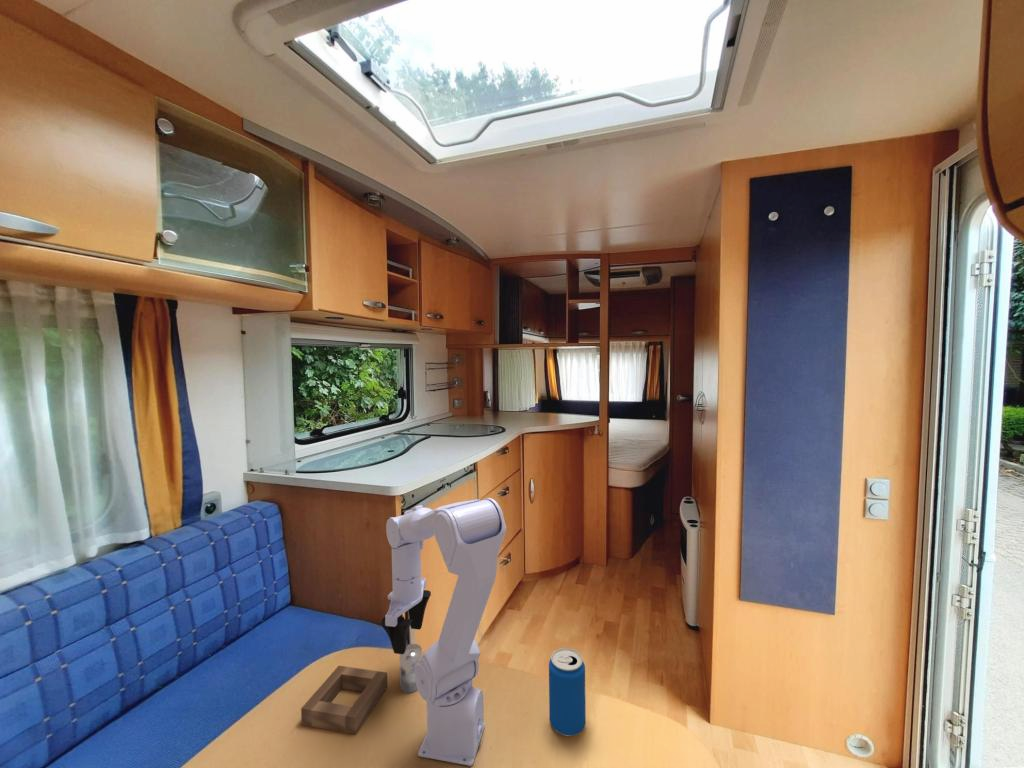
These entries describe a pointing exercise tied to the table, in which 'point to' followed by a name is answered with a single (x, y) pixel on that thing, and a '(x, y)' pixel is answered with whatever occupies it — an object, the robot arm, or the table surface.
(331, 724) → the walnut socket block
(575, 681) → the beverage can
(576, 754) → the table surface
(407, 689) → the metal peg
